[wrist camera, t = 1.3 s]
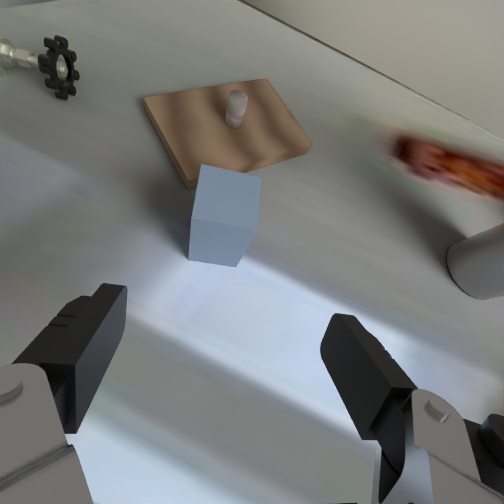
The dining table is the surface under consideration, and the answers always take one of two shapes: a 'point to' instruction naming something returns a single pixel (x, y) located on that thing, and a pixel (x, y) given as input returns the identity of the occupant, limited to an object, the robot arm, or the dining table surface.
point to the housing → (223, 215)
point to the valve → (44, 63)
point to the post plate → (226, 128)
